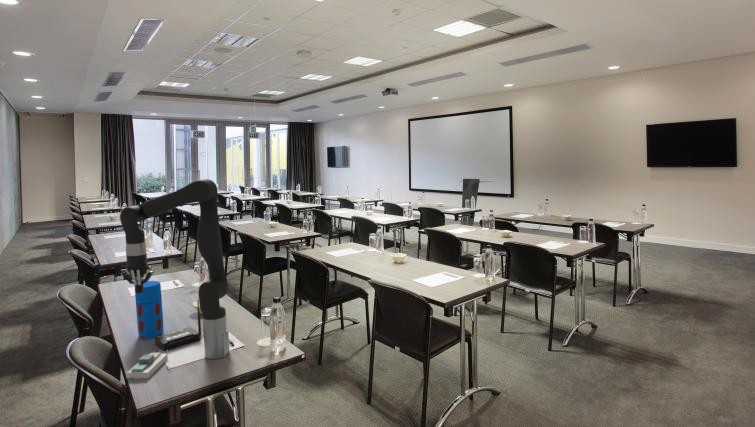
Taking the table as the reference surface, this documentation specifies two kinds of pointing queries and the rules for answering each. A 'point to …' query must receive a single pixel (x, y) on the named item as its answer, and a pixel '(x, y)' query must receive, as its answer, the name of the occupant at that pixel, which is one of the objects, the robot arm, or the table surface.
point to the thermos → (149, 310)
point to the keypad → (148, 368)
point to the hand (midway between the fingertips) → (139, 293)
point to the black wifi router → (179, 337)
